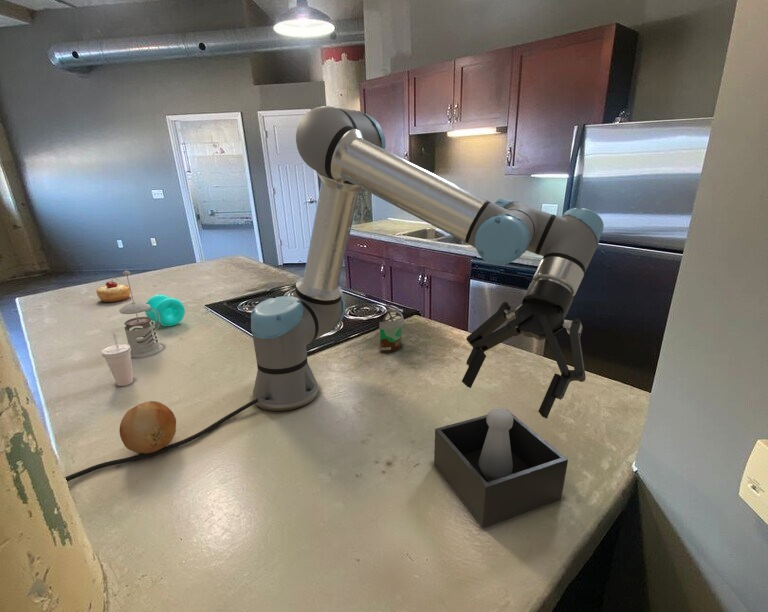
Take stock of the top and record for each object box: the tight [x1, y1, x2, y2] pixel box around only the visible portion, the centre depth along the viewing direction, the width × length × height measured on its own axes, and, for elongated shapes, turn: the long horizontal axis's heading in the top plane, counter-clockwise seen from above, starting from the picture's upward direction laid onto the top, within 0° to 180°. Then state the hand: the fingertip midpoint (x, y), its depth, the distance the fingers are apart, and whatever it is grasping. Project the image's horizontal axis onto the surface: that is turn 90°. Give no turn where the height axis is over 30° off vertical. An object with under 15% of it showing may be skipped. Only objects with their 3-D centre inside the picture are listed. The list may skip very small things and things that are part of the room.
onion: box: [119, 400, 177, 454], centre depth 82 cm, size 10×10×10 cm
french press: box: [118, 270, 164, 358], centre depth 123 cm, size 10×12×25 cm
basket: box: [433, 409, 569, 529], centre depth 72 cm, size 16×16×8 cm
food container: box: [378, 308, 405, 353], centre depth 125 cm, size 12×6×10 cm, turn 168°
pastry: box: [95, 277, 131, 303], centre depth 174 cm, size 12×12×9 cm
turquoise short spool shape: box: [144, 294, 186, 327], centre depth 146 cm, size 10×10×10 cm
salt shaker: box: [478, 407, 514, 482], centre depth 71 cm, size 6×6×13 cm
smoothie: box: [101, 331, 134, 387], centre depth 106 cm, size 6×6×14 cm
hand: (501, 399), depth 67 cm, fingers open, 13 cm apart
